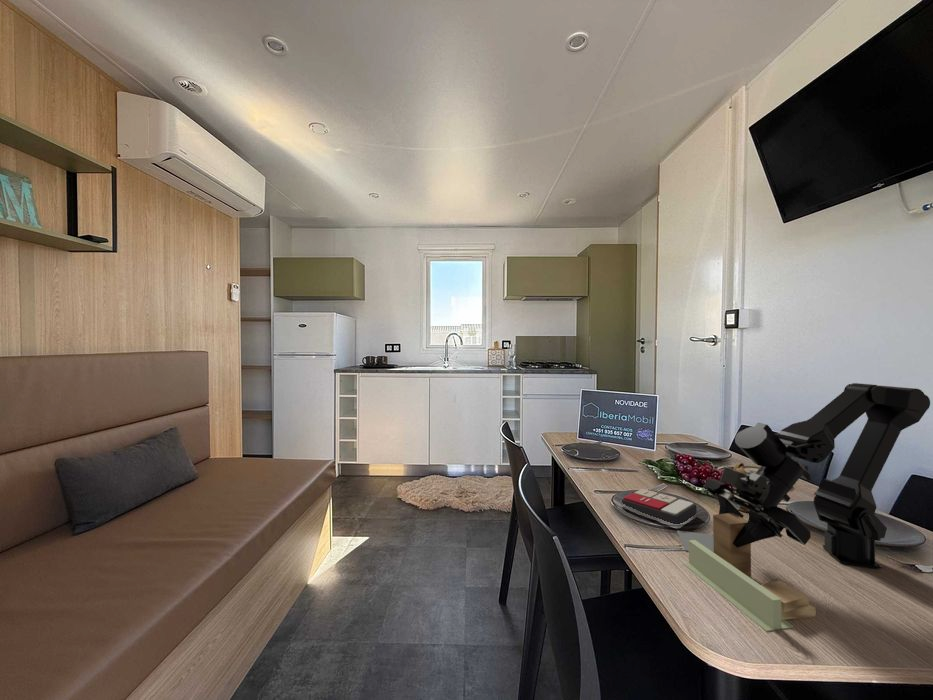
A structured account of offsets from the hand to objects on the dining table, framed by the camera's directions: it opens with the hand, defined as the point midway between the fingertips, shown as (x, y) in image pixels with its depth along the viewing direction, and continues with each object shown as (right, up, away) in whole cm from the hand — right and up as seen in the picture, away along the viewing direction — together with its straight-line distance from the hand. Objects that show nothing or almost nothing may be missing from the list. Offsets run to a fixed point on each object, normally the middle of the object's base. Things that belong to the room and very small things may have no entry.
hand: (725, 539), depth 72 cm
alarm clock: (+43, -6, +47) cm, 64 cm away
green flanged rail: (-3, -7, -5) cm, 9 cm away
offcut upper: (+3, -5, -10) cm, 11 cm away
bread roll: (+27, -6, +29) cm, 41 cm away
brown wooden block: (+2, -7, 0) cm, 7 cm away
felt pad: (+3, -7, +10) cm, 13 cm away
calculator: (+1, -7, +27) cm, 28 cm away
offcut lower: (+3, -7, -10) cm, 12 cm away
